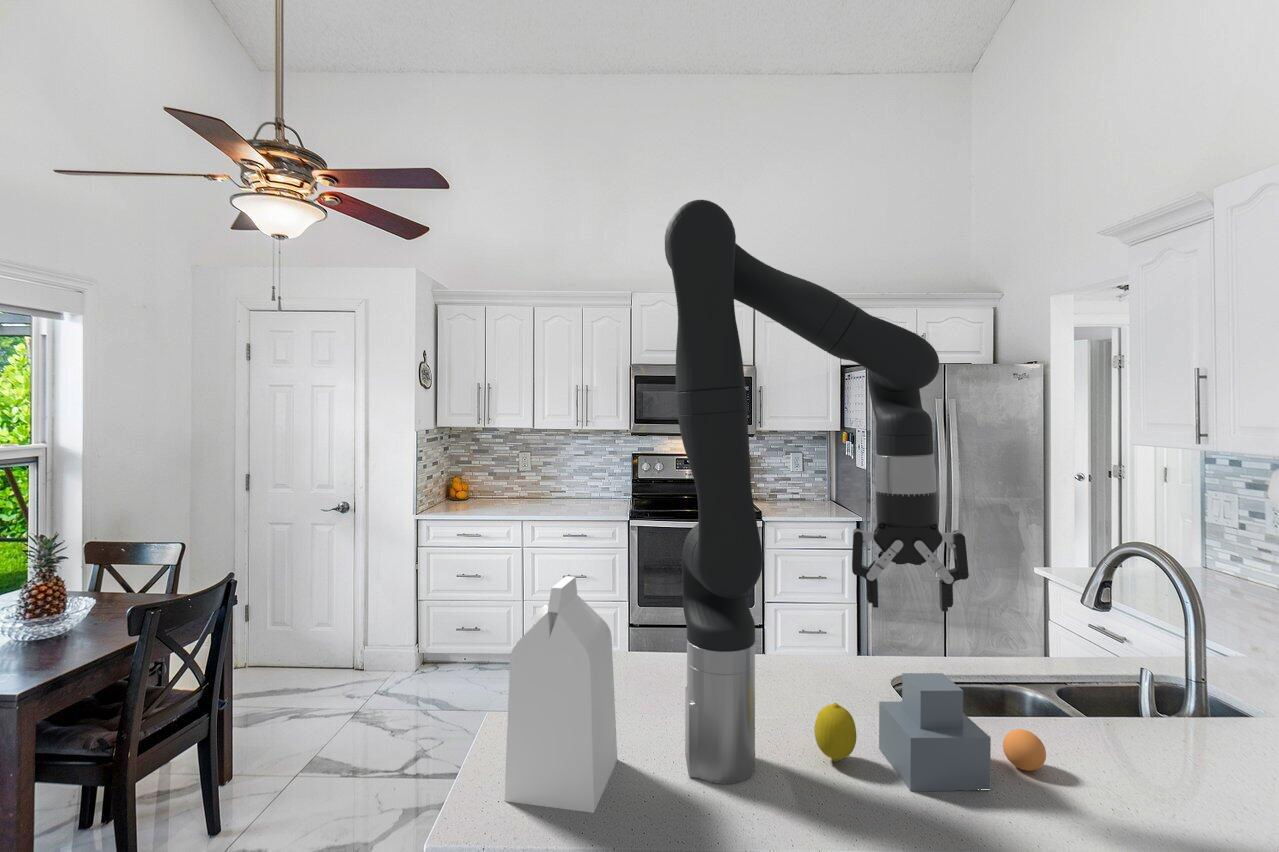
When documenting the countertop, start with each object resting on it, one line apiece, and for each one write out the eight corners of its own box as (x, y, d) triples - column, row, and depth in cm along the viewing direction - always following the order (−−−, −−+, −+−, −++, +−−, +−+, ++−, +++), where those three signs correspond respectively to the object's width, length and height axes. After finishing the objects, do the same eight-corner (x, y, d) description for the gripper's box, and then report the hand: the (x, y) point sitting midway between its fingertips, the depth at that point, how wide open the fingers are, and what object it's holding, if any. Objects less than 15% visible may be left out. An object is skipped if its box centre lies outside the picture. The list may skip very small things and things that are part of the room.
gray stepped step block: (910, 791, 80) (910, 698, 79) (879, 748, 90) (879, 666, 90) (990, 790, 80) (990, 698, 79) (949, 748, 90) (950, 666, 90)
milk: (594, 812, 75) (593, 597, 75) (504, 801, 78) (503, 592, 77) (617, 759, 87) (617, 573, 87) (539, 750, 89) (538, 569, 89)
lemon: (859, 774, 83) (859, 714, 83) (815, 769, 84) (816, 710, 84) (853, 752, 89) (853, 696, 89) (813, 748, 90) (813, 693, 90)
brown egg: (1016, 778, 82) (1017, 740, 82) (994, 758, 87) (995, 722, 87) (1054, 778, 82) (1055, 740, 82) (1030, 757, 87) (1030, 722, 87)
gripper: (850, 491, 82) (854, 613, 83) (970, 491, 78) (973, 620, 78) (848, 484, 90) (852, 597, 90) (959, 484, 85) (962, 602, 86)
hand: (909, 607), depth 84 cm, fingers open, 8 cm apart
